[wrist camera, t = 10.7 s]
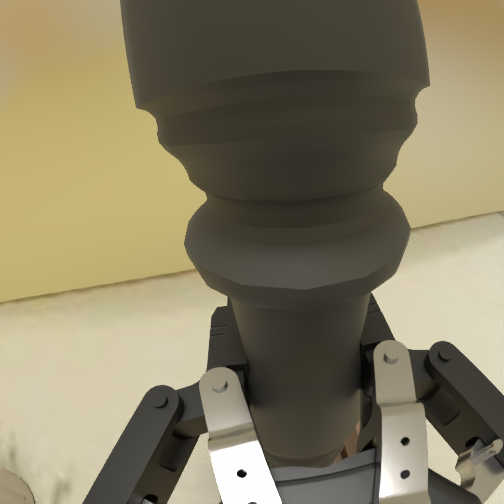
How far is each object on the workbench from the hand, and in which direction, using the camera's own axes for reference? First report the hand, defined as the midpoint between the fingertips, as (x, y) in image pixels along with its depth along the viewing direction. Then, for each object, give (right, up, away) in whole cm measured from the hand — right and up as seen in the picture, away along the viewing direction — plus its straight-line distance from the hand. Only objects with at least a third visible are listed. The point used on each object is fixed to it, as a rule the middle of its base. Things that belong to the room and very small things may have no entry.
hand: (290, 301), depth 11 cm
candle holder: (+2, -13, +5) cm, 14 cm away
